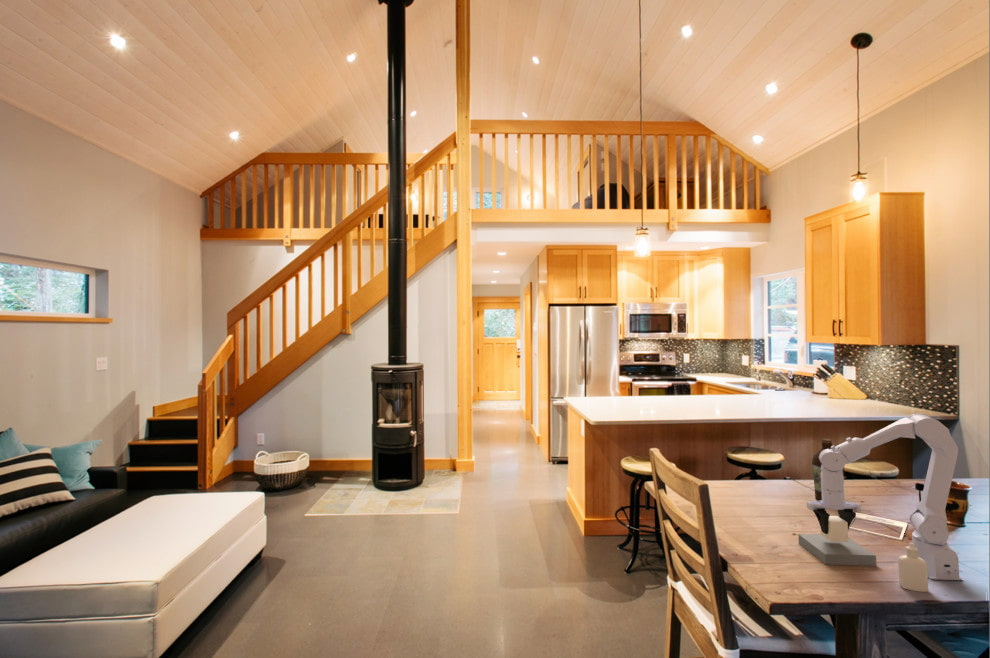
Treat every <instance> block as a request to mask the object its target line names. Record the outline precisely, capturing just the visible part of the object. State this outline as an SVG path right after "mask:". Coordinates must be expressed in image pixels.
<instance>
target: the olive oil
mask: <svg viewBox="0 0 990 658" xmlns="http://www.w3.org/2000/svg"><path fill="white" fill-rule="evenodd" d="M831 446H833V443H832V439H829V438H822V439H821V449H819V450H818V451H817V452H816V453H814V455H813V456H812V459H811V467H812V474H813V475H812V476H813V484H814V485H813V486H814V487H813V489H814V497H815V501H820V500H822V491H821V464H822V463H821V462H820V460H819V455H820V453H821V452H822V451H823V450H825V449H832V448H831ZM842 472H843V477H844V478H845V467H844V468H843V469H842Z"/></svg>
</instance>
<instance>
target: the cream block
mask: <svg viewBox="0 0 990 658" xmlns="http://www.w3.org/2000/svg"><path fill="white" fill-rule="evenodd" d="M820 534H821V535H822V536H824V537H825V538H826V539H828V540H829V541H831V542H848V538H849V530H848V522H846V521H845V520H843V519H841V518H840V517H839V515H830V516H829V520H828V534H825V533H823V532H822V530H821V529H820Z"/></svg>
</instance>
